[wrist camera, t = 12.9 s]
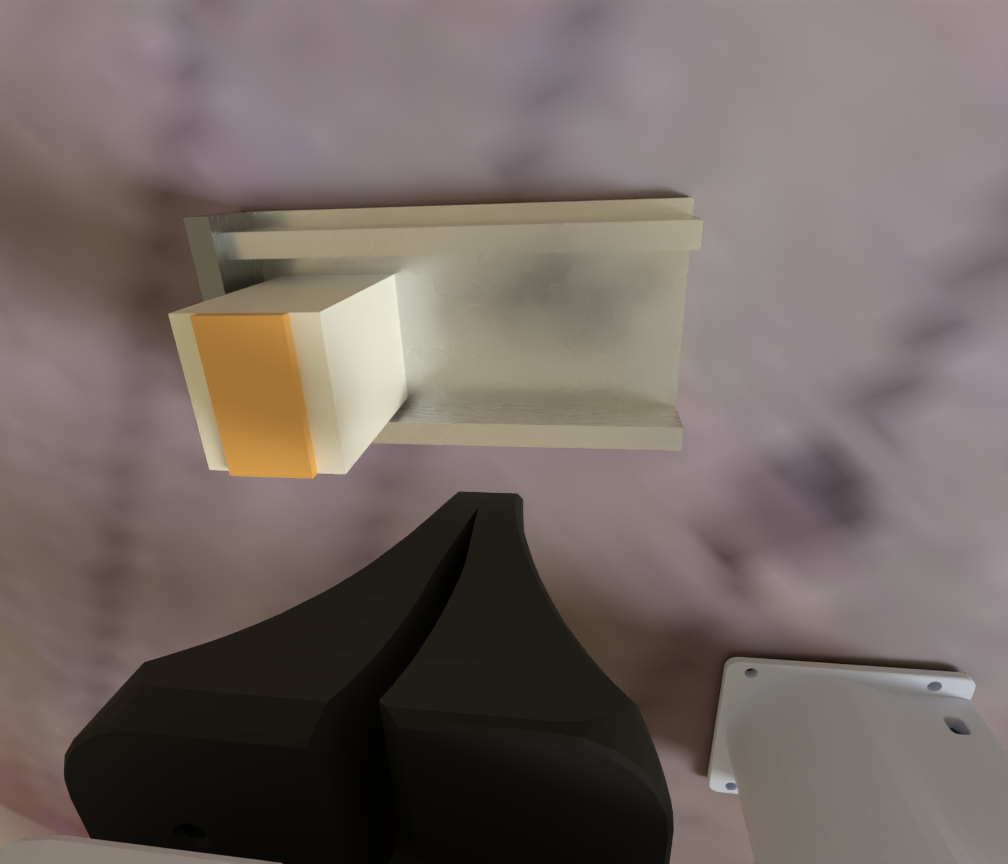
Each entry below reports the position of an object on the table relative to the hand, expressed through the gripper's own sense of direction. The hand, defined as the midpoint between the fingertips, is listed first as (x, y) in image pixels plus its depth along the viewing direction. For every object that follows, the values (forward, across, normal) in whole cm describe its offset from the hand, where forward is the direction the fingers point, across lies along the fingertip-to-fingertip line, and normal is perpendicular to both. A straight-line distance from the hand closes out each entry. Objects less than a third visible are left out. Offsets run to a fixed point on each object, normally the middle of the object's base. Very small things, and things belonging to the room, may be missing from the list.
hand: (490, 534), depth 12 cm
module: (+9, +6, -2) cm, 11 cm away
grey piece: (+10, +2, -2) cm, 10 cm away
